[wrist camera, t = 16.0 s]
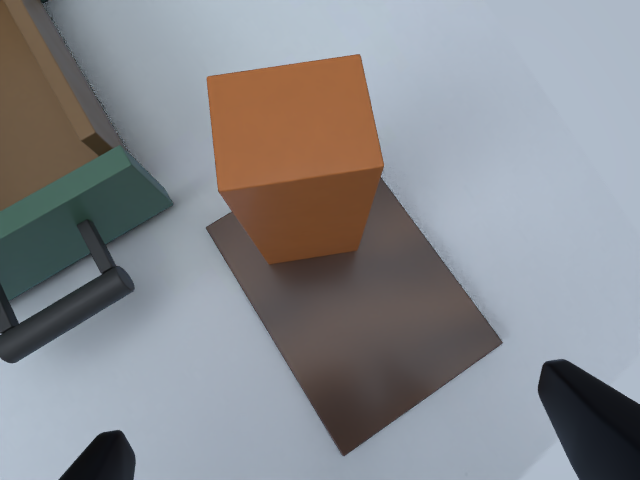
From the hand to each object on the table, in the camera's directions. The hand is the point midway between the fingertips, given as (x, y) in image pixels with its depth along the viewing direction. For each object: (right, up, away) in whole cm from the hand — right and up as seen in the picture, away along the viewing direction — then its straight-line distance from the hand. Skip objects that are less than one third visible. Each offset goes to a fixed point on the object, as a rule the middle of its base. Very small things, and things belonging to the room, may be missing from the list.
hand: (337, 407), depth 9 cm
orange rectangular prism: (-1, +5, +15) cm, 15 cm away
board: (+1, +1, +14) cm, 14 cm away
